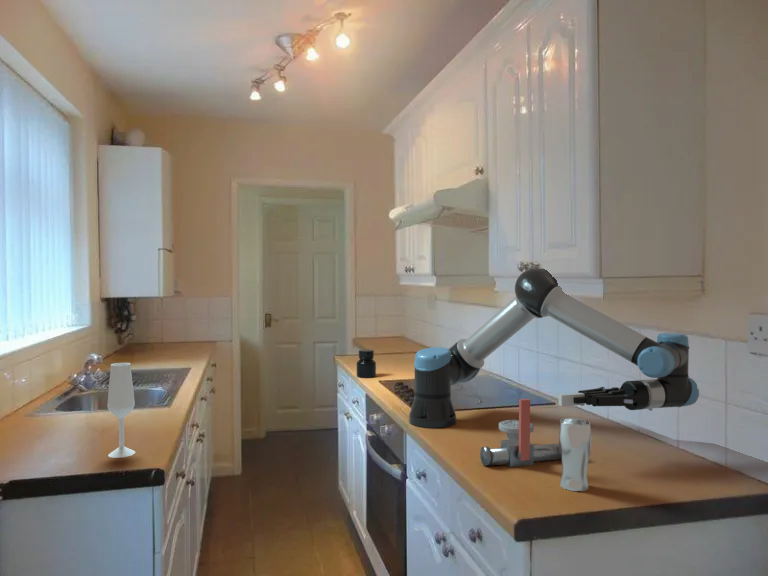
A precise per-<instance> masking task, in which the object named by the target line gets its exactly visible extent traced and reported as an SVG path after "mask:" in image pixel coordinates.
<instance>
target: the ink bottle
mask: <svg viewBox="0 0 768 576" xmlns="http://www.w3.org/2000/svg"><path fill="white" fill-rule="evenodd" d="M374 355H375V352H374V349H358V360H357V361H356V377H358V378H360V379H361V378H362V379H363V378H364V379H368V378H375V377H376V376H377V362H376V360H374Z"/></svg>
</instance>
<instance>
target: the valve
mask: <svg viewBox="0 0 768 576" xmlns="http://www.w3.org/2000/svg"><path fill="white" fill-rule="evenodd" d="M518 451H519V439H513V440H507V439H505V440H503V439H502V440H501V441H500V447H497V448H496V447H494V448H490V447H489V446H481V448H480V452H479V455H480V456H479V457H480V461H481V464H482V465H483V466H485V467H488V466H498V465H507V466H509V468H512V467H513V468H514V467H515V468H516V467H523V466H525V465H526V466H533V465H534V462H535V463H536V462H544V461H546V462H547V461H556V460H558V461H559V460H561V455H560V448H559V442H558V443H546V444H535V445H534V443H532V442H530V454H531V457H530V460H529V461H527V462H522V461H521V460H519V459H518V457H517V452H518Z"/></svg>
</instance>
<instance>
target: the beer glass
mask: <svg viewBox="0 0 768 576" xmlns="http://www.w3.org/2000/svg"><path fill="white" fill-rule="evenodd" d="M558 429H559V430H558V443H559V448H560V455H561V459H560V460H561V466H562V467H561V469H562V471H561V478H560V479H561V480H560V483H559V484H560V487H561V488H563V489H564V490H566V489H567V490H566V491H570V492H577V491H580V492H586V491H588V490H589V483H588V465H589V460H590V455H591V448H592V428H591V421H590V420H588V419H584V418H580V417H564V418H560V420H559V428H558Z"/></svg>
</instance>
